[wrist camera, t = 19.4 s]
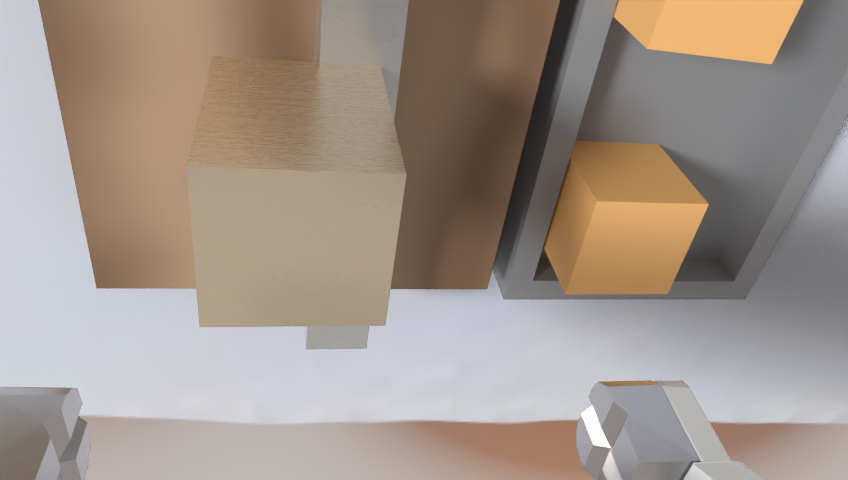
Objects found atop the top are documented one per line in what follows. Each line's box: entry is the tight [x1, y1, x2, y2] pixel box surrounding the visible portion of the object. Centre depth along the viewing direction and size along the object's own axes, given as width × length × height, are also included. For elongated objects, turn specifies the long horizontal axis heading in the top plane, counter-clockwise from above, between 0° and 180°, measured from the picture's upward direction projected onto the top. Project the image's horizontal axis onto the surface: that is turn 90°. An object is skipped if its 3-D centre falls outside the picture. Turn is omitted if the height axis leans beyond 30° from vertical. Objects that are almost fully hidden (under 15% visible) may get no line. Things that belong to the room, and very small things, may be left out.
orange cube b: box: [543, 141, 709, 294], centre depth 25 cm, size 4×4×4 cm
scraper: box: [186, 0, 409, 349], centre depth 17 cm, size 4×16×8 cm, turn 172°
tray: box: [493, 0, 848, 299], centre depth 24 cm, size 11×18×2 cm, turn 172°
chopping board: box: [38, 0, 560, 289], centre depth 21 cm, size 14×16×2 cm
